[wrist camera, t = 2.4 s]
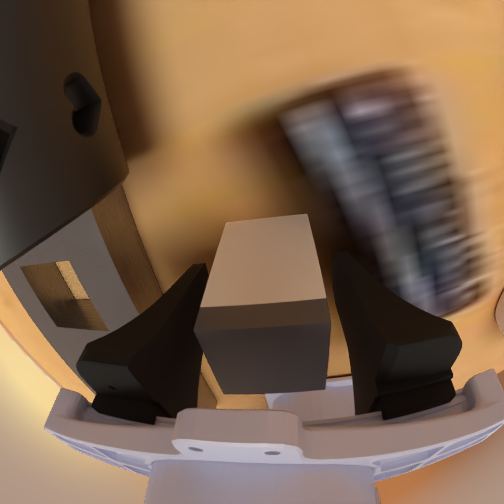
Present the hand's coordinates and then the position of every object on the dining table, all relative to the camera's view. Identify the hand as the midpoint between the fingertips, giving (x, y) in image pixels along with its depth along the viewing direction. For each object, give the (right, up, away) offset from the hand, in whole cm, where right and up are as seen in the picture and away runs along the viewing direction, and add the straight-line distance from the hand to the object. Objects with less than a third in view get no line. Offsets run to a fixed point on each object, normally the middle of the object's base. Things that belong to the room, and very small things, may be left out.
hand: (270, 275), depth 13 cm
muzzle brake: (-12, +17, -7) cm, 22 cm away
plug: (0, +1, +2) cm, 2 cm away
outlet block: (-11, -5, +6) cm, 14 cm away
